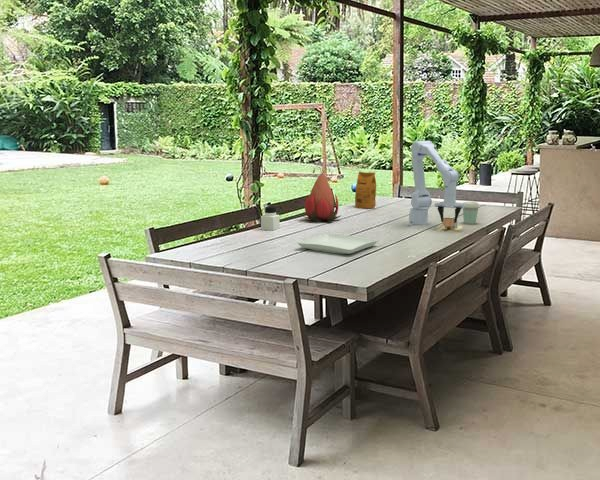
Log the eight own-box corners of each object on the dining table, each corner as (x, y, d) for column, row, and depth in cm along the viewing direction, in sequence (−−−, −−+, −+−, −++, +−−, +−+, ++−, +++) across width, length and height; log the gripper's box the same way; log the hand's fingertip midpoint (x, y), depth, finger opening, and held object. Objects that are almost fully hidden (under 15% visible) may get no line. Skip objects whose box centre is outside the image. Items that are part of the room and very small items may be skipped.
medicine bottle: (279, 228, 357) (279, 205, 355) (273, 230, 351) (273, 207, 348) (267, 227, 360) (267, 204, 358) (260, 229, 354) (260, 206, 351)
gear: (443, 228, 354) (443, 219, 354) (445, 225, 360) (445, 217, 359) (456, 228, 352) (456, 220, 351) (458, 226, 358) (458, 218, 357)
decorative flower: (321, 225, 367) (321, 168, 362) (292, 219, 384) (292, 164, 379) (350, 220, 382) (351, 165, 376) (321, 215, 399) (322, 162, 393)
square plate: (351, 257, 293) (351, 248, 292) (295, 250, 307) (295, 241, 306) (379, 246, 315) (379, 238, 314) (326, 240, 329) (326, 232, 328)
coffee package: (360, 205, 436) (360, 170, 431) (377, 207, 429) (378, 171, 425) (352, 207, 427) (352, 171, 423) (370, 209, 421) (371, 173, 416)
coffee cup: (478, 227, 363) (479, 204, 361) (461, 226, 365) (462, 203, 362) (477, 224, 371) (478, 202, 369) (461, 223, 373) (462, 201, 370)
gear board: (435, 232, 348) (436, 223, 347) (441, 226, 364) (442, 218, 363) (458, 234, 344) (458, 225, 343) (463, 227, 360) (463, 219, 359)
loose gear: (441, 225, 347) (441, 218, 347) (443, 224, 353) (444, 217, 352) (453, 227, 345) (453, 220, 345) (455, 225, 351) (455, 218, 350)
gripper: (433, 195, 345) (432, 222, 348) (463, 196, 340) (462, 224, 343) (436, 193, 352) (435, 220, 354) (465, 194, 346) (464, 221, 349)
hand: (448, 222), depth 349 cm, fingers closed on loose gear, 6 cm apart
